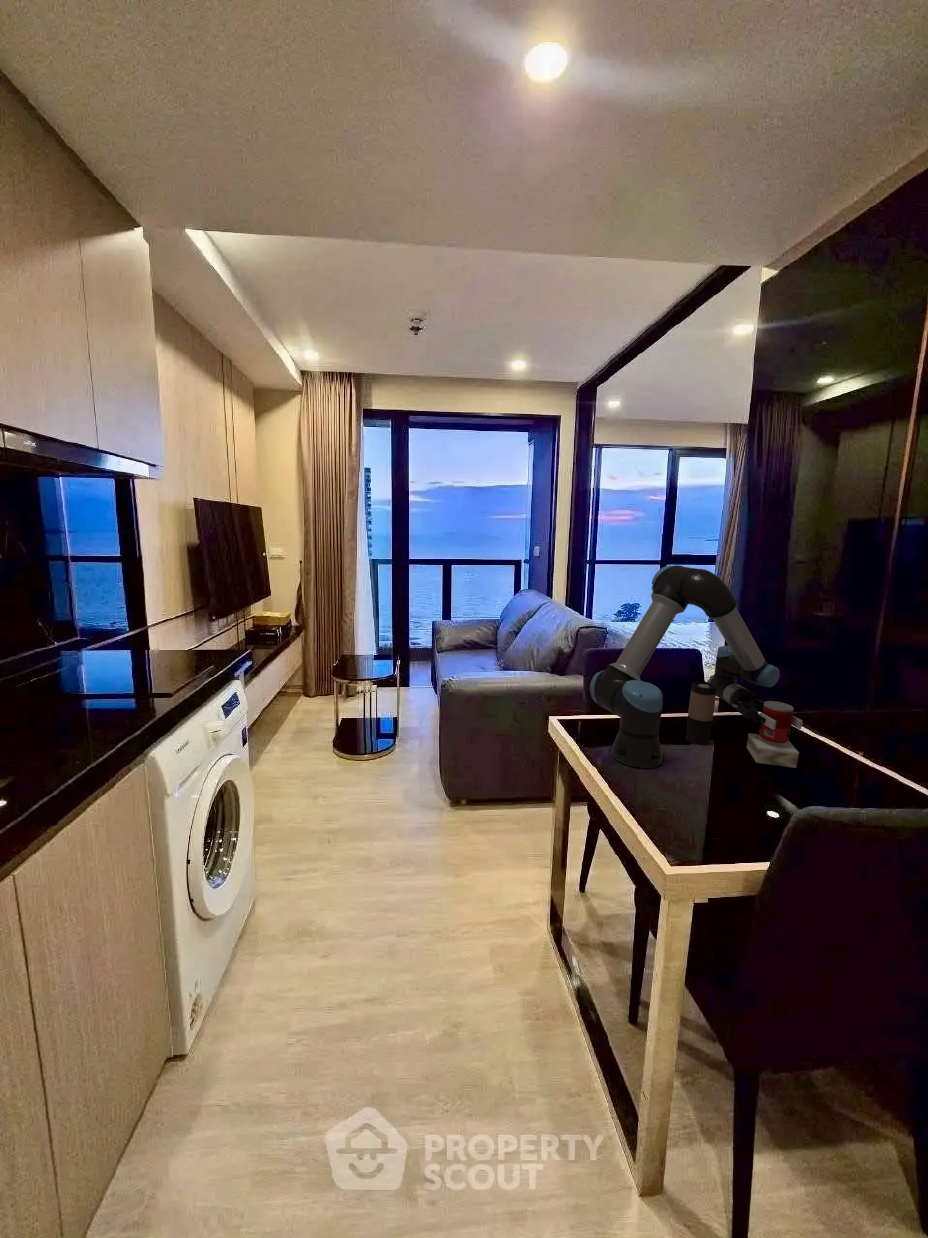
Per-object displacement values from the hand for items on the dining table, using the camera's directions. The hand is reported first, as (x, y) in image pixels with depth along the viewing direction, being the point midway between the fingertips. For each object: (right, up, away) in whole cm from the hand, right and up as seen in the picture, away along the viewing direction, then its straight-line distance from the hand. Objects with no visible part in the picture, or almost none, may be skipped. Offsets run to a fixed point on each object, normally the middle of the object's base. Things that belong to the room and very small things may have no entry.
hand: (787, 725), depth 152 cm
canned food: (-1, -6, +6) cm, 8 cm away
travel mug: (-19, -9, +18) cm, 28 cm away
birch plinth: (-1, -12, +7) cm, 14 cm away
